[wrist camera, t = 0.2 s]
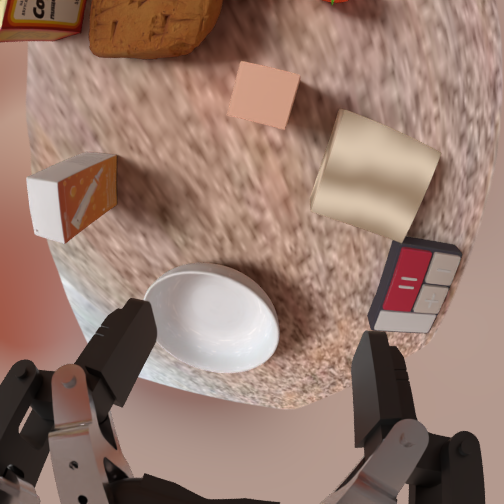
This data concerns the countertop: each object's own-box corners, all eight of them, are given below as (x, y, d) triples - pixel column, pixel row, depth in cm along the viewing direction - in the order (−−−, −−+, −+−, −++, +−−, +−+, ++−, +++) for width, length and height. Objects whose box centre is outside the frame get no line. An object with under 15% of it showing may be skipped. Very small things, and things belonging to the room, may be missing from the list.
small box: (118, 204, 41) (65, 246, 30) (87, 198, 41) (33, 235, 30) (118, 153, 36) (56, 182, 25) (85, 150, 37) (24, 177, 26)
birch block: (338, 108, 30) (345, 109, 26) (424, 145, 30) (441, 152, 26) (309, 197, 36) (310, 211, 32) (391, 225, 36) (401, 243, 32)
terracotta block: (253, 69, 29) (240, 61, 22) (300, 80, 29) (300, 75, 22) (242, 111, 32) (226, 115, 25) (287, 123, 32) (284, 129, 25)
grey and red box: (465, 255, 32) (429, 336, 39) (453, 242, 36) (422, 320, 43) (401, 245, 33) (370, 333, 40) (392, 231, 37) (366, 316, 44)
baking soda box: (80, 32, 27) (-2, 29, 13) (53, 41, 27) (-25, 45, 14) (91, -19, 22) (16, -36, 8) (62, -7, 23) (-11, -16, 9)
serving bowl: (261, 357, 52) (255, 386, 47) (156, 321, 52) (141, 347, 46) (302, 272, 42) (302, 302, 36) (165, 227, 41) (144, 250, 36)
